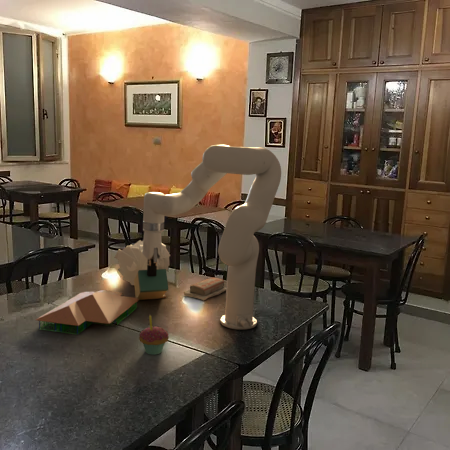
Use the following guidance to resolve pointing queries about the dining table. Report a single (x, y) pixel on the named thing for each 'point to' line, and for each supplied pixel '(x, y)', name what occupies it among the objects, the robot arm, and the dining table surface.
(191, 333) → the dining table surface
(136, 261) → the spiral staircase
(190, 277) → the dining table surface
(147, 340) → the cupcake
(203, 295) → the packaged product
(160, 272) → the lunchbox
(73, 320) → the house
